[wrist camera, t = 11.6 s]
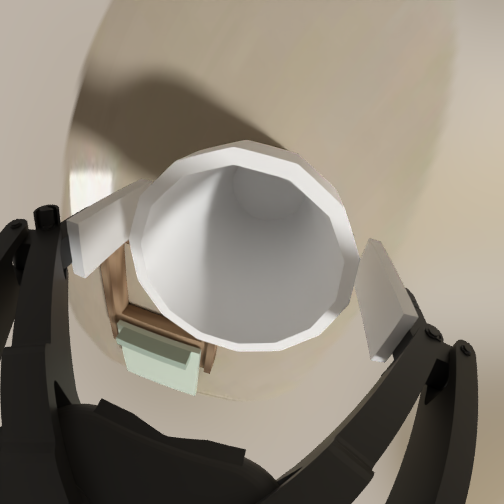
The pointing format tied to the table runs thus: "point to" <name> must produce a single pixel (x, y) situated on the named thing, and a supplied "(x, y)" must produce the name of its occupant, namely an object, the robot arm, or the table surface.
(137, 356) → the cover
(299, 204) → the foam cup
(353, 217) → the table surface
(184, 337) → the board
